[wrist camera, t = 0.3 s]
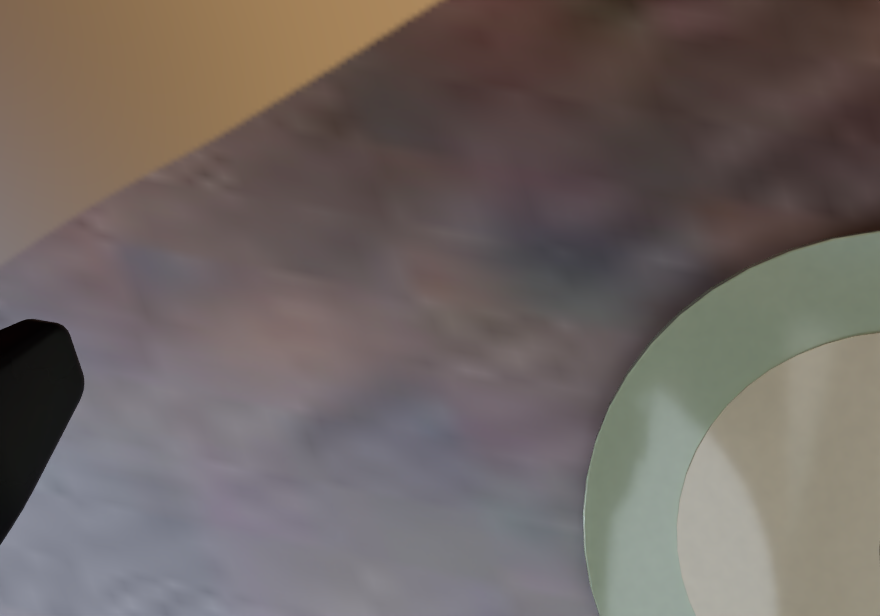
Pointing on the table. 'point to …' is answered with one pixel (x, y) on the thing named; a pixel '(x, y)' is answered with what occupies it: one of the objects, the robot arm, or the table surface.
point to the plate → (748, 449)
